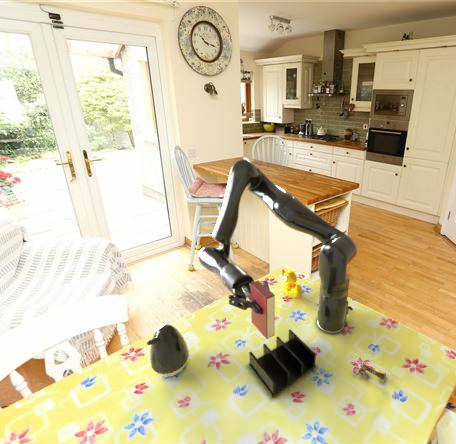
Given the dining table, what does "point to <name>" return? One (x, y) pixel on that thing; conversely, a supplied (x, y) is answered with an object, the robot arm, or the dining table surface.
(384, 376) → the brown two-tone jointed fixture
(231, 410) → the dining table surface
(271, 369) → the book rack
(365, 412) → the dining table surface
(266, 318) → the book
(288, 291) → the duckling
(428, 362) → the dining table surface
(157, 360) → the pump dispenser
